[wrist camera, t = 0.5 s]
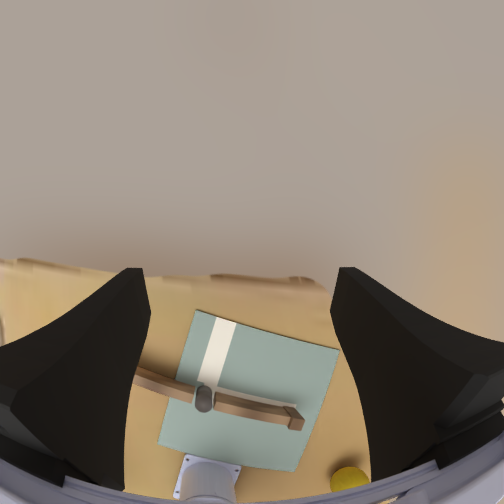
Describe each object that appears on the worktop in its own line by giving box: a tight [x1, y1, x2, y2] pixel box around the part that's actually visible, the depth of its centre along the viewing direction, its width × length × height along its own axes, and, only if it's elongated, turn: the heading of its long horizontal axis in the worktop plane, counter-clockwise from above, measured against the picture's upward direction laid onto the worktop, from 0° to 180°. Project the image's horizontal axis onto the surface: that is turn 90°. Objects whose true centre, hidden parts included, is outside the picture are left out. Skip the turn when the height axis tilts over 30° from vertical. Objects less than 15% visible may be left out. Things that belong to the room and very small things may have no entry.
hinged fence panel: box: [132, 366, 195, 404], centre depth 30 cm, size 11×2×4 cm, turn 73°
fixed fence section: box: [195, 385, 305, 431], centre depth 31 cm, size 13×2×5 cm, turn 73°
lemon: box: [330, 467, 370, 492], centre depth 29 cm, size 6×6×8 cm
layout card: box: [157, 310, 340, 472], centre depth 33 cm, size 20×20×1 cm
